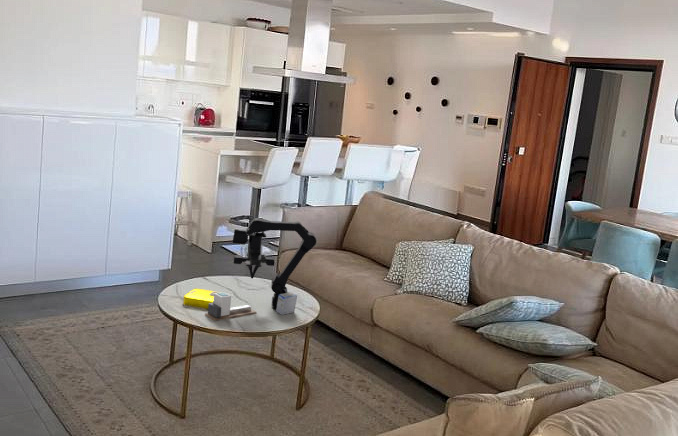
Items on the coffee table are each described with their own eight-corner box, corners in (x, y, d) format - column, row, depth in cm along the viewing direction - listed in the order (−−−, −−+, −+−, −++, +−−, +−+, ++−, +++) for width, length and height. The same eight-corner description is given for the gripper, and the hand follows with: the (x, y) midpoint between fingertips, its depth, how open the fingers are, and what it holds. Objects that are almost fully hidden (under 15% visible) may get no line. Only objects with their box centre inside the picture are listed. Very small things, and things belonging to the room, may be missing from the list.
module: (221, 310, 305) (223, 291, 304) (229, 314, 301) (231, 295, 299) (212, 312, 302) (213, 292, 300) (220, 316, 298) (221, 296, 296)
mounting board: (245, 308, 316) (245, 306, 316) (256, 313, 310) (256, 311, 310) (204, 315, 301) (205, 313, 300) (215, 320, 295) (215, 319, 295)
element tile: (193, 296, 325) (194, 286, 324) (224, 301, 323) (224, 291, 322) (181, 305, 311) (182, 295, 310) (213, 310, 309) (214, 300, 308)
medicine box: (288, 308, 321) (291, 291, 319) (294, 312, 318) (297, 295, 316) (275, 311, 315) (278, 294, 313) (282, 315, 312) (285, 297, 310)
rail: (244, 307, 315) (245, 297, 314) (253, 311, 310) (254, 302, 309) (207, 313, 301) (208, 303, 300) (216, 318, 296) (217, 308, 295)
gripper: (236, 248, 306) (233, 282, 309) (277, 251, 310) (274, 284, 313) (234, 242, 316) (231, 275, 319) (274, 245, 321) (270, 277, 324)
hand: (251, 278), depth 319 cm, fingers closed
